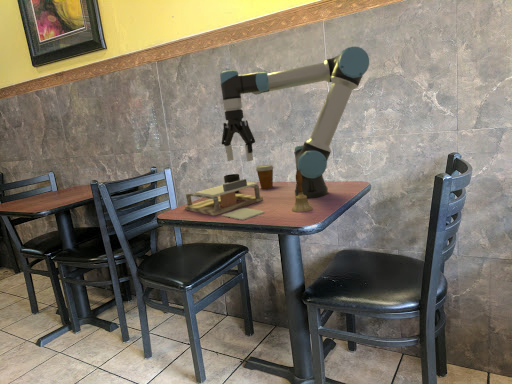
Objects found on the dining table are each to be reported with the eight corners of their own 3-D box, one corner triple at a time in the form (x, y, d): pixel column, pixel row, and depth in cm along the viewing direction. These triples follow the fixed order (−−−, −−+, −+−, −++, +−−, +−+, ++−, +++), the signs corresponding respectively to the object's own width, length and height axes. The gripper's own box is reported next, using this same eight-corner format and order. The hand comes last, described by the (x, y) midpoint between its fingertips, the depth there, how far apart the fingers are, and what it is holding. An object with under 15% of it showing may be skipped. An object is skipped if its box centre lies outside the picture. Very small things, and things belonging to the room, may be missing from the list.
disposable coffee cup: (254, 189, 200) (252, 167, 198) (264, 185, 208) (262, 164, 206) (269, 189, 195) (266, 167, 192) (278, 185, 202) (276, 164, 200)
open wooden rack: (263, 199, 173) (261, 184, 172) (214, 215, 156) (211, 198, 154) (232, 195, 191) (230, 182, 190) (185, 209, 174) (182, 194, 172)
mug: (243, 189, 206) (241, 172, 204) (240, 193, 194) (237, 175, 193) (229, 190, 207) (226, 173, 205) (224, 195, 196) (222, 177, 194)
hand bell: (311, 211, 143) (307, 171, 140) (290, 212, 145) (285, 172, 142) (314, 206, 151) (310, 167, 148) (293, 207, 153) (289, 169, 150)
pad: (265, 212, 150) (265, 211, 150) (242, 220, 143) (242, 219, 143) (243, 208, 161) (243, 207, 161) (221, 216, 153) (221, 214, 153)
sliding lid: (258, 184, 171) (257, 176, 170) (213, 197, 155) (212, 187, 155) (238, 183, 182) (237, 175, 182) (194, 194, 167) (193, 185, 166)
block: (236, 204, 170) (234, 190, 169) (228, 207, 167) (225, 192, 166) (230, 203, 174) (228, 189, 172) (221, 206, 171) (219, 191, 169)
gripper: (259, 106, 146) (266, 159, 150) (223, 111, 165) (229, 159, 169) (245, 107, 141) (251, 162, 146) (209, 113, 160) (216, 161, 165)
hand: (240, 160), depth 157 cm, fingers open, 13 cm apart
